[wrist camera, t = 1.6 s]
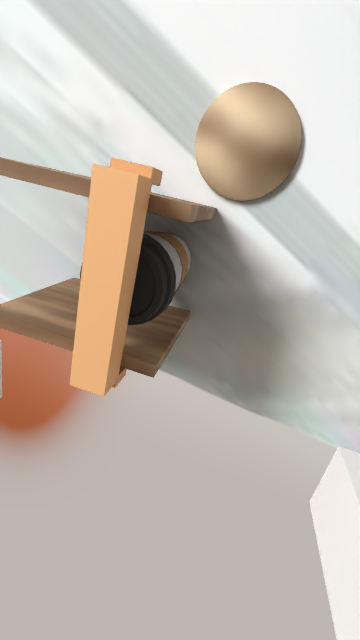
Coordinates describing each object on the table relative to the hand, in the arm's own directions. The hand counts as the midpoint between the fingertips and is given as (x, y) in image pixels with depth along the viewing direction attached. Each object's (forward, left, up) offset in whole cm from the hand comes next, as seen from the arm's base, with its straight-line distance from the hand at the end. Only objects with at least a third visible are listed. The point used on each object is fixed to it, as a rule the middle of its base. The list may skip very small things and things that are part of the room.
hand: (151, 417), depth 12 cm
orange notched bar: (0, -7, -15) cm, 16 cm away
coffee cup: (0, -7, -29) cm, 30 cm away
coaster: (-14, -1, -29) cm, 32 cm away
